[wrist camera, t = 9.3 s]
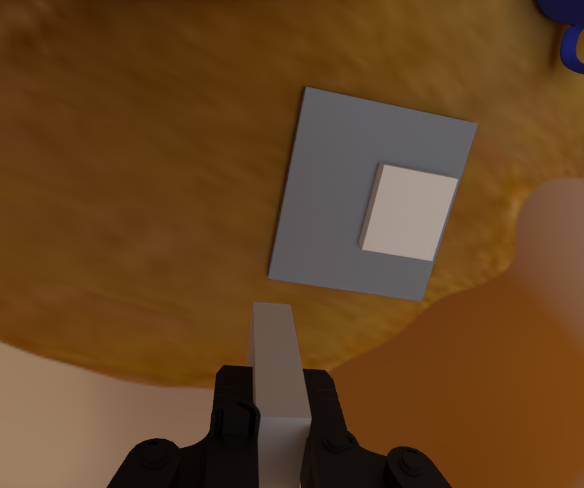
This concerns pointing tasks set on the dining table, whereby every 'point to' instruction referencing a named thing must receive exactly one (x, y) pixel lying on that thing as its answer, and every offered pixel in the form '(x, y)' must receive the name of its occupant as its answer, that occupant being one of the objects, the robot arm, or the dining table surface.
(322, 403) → the robot arm
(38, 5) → the dining table surface
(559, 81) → the dining table surface
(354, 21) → the dining table surface
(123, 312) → the dining table surface
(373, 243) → the tile
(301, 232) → the board
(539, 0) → the mug
